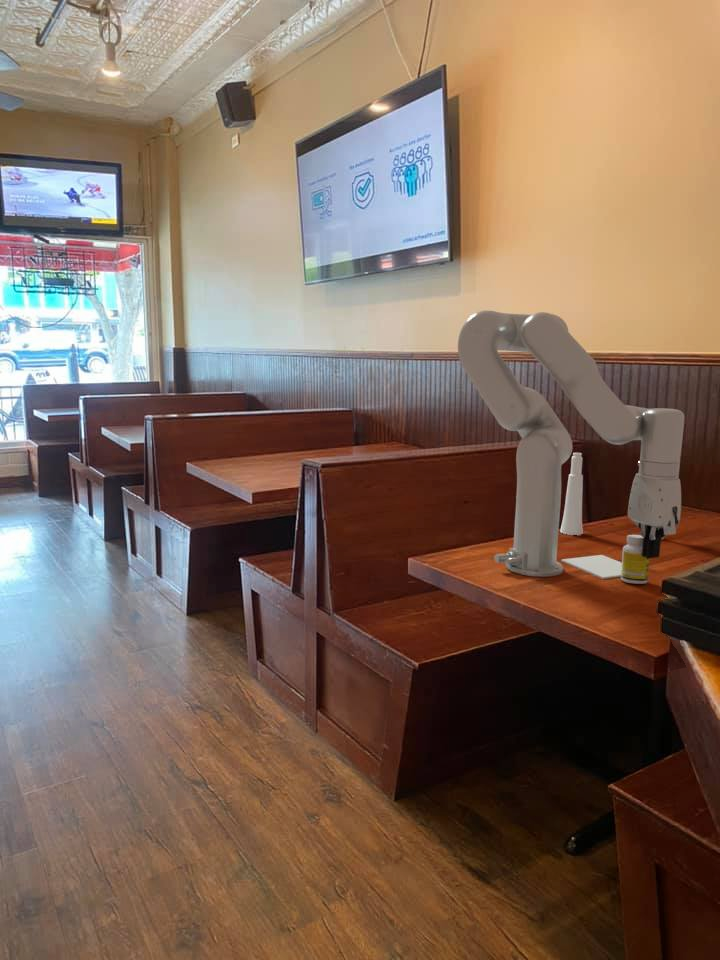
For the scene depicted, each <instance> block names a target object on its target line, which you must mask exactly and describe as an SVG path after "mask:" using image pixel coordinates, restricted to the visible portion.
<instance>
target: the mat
mask: <svg viewBox="0 0 720 960" xmlns="http://www.w3.org/2000/svg"><path fill="white" fill-rule="evenodd" d="M560 560H561V563H562V562H563V563H565V564H568V565H569V566H572V567H575V568H576V569H579V570H581V571H583V572H585V573H588V574H591V575H593V576H595V577H597V578H600V579H602V580H605V579H613V578H621V570H622V561H619V560H616V559H614V558H611V557H608V556H606V555H604V554H598V555H588V556H581V557H572V558H563V559H560Z"/></svg>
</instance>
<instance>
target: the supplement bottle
mask: <svg viewBox="0 0 720 960" xmlns="http://www.w3.org/2000/svg"><path fill="white" fill-rule="evenodd" d="M643 538H644V537H642V536H641V534H628V535H626V542H627V544H626V545H624V546H623V547H622V553H621V554H622V555H621V556H622V557H621V562H622V570H621V577H620V579H621V581H623V582H625V583H628V584H636V585H643V584H647V583H648V581H649V569H650V558H646V557H643V556H642V547H643Z"/></svg>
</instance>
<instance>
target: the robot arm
mask: <svg viewBox="0 0 720 960" xmlns="http://www.w3.org/2000/svg"><path fill="white" fill-rule="evenodd" d="M457 340H458V341H457V352H458V358H459V361H460V364H461V366H462V368H463V370H464V371H465V374H466V375H467V376H468V378H469V380H470V382H472V384H473V385H474V387H475V389H476V390H477V392H478V393H479V395H480V396H481V398H482V400H483V401H484V403H485V405H486V406H487V408H488V409H489V411H490V412H491V413H492V415H493V416H494V418H495V420H496V422H497V423H498V424H499V425H500V426H501V427H502V428H503V429H505V430H507V431H511V432H516V431H517V433H518V434H519V436H520V438H521V439H520V441H519V444H518V446H517V448H516V454H515V455H516V457H515V461H516V462H515V463H516V465H515V466H516V496H515V501H516V502H515V515H514V516H515V517H514V533H513V547H509V549H508V551H507V552H506V553H496V554H494V555H493V556H494V557H493V559H494V562H495V563H496V564H499V563H505V565H504V566H505V568H506V569H507V570H508V571H510V572H512V573H515V574H517V575H518V574H519V575H522V576H528V577H543V578H545V577H546V578H547V577H554V576H558V575H560V574H562V573H563V571H564V566H563V564H562V563H561V562H558V561H557V557H558V539H559V531H560V530H559V527H560V516H561V515H560V514H561V504H562V503H561V501H562V499H561V498H562V465H563V464H565V463H566V462H567V461H568V460H569V458H570V457H571V455H572V454H573V453H572V452H573V441H572V437H571V436H570V433H569V432H568V430H567V428H566V427H565V425H564V424H563V423H562V421H561V420H560V419H559V417H558V415H557V414H556V413H555V411H554V409H553V408H552V407H551V405H550V404H549V403H548V401H547V400H546V398H545V397H544V396H543V395H542V394H541V393H540V392H539V391H538V390H536V389H534V388H531V387H528V386H523V385H522V384H521V383H520V381H519V380H518V379H517V377H516V375H515V374H514V372H513V371H512V369H511V367H509V365H508V363H506V361H505V360H504V359H503V358H502V357H501V356H500V354H499V352H498V351H501V352H502V351H505V352H506V351H507V352H508V351H509V352H522V353H530V354H531V355H532V357H534V358H535V359H536V360H537V361H538V362H539V364H540V365H541V366H542V367H543V368H544V369H545V371H547V373H548V374H549V375H550V376H551V377H552V378H553V379H554V381H556V382H557V384H558V385H559V386H560V387H561V389H562V391H563V392H564V394H565V395H566V396H567V398H568V399H569V401H570V402H571V403H572V405H573V406H574V407H575V409H576V410H577V411H578V413H579V415H581V416H582V418H583V419H584V420H585V421H586V422H587V423H588V424H589V426H591V427H592V429H593V430H594V431H595V432H596V433H597V434H598V435H599V437H601V438H602V439H603V441H604V440H605V441H606V442H607V443H610V444H612V445H617V446H621V445H624V444H627V443H630V442H633V441H640V442H641V444H640V453H639V454H640V456H639V460H638V462H637V466H638V472H637V473H635V476H634V478H633V480H632V484H631V485H632V486H631V489H630V494H629V500H628V508H627V517H628V518H629V519H630V520H632V521H631V522H632V523H633V524H634V525H635V526H637V527H638V528H639V530H640V535H641V536H642V537H644V538H643V547H642V556H643V557H646V558H649V559H654V558H659V557H660V553H661V543H662V540H664V539H665V536H667V535H668V536H671V535H676V533H677V528H676V527H678V526H679V523H680V520H681V513H682V487H681V479H680V478H679V477H680V476H679V475H680V467H681V466H680V464H681V458H682V457H681V455H682V447H683V446H682V445H683V437H684V436H683V435H684V426H685V414H684V412H683V411H681V410H680V409H676V408H665V407H664V408H662V407H660V408H659V407H658V408H657V407H654V408H647V407H640V406H635V405H628V404H624V402H622V401H621V400H620V399H619V397H618V396H616V394H615V392H613V391H612V389H611V388H610V387H609V386H608V385H607V384H606V382H605V381H604V379H603V377H602V375H601V374H600V371H599V369H598V368H599V367H598V365H597V363H596V360H595V358H593V356H591V355H590V354H589V352H587V350H586V349H585V348H584V347H583V346H582V345H581V344H580V343H579V342H578V341H577V340H576V339H575V337H573V335H571V332H570V331H569V328H568V326H567V323H566V322H565V320H564V319H563V318H561V317H560V316H558V315H556V314H553V313H549V312H545V311H544V312H542V311H541V312H535V313H534V314H525V313H523V314H522V313H520V314H519V313H504V312H499V311H496V310H495V311H494V310H481V311H477V312H475V313H473V314H472V315H470V316H469V317H468V318H467V319H466V321H464V324H463V325H462V326H461V329H460V332H459V334H458V339H457ZM661 539H662V540H661Z"/></svg>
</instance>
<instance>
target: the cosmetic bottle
mask: <svg viewBox="0 0 720 960" xmlns="http://www.w3.org/2000/svg"><path fill="white" fill-rule="evenodd" d="M582 455H583V453H581V452H573V453H572V456H571V462H570V464H571V465H570V473H569V474H568V480H567V486H566V493H565V504H564V508H563V509H564V510H563V516H562V521H561V526H560V530H559V532H560V533H561V534H562V533H563V535H566V534H567V536H573V535H577V536H582V535H583V534H584V529H583V492H584V491H583V490H584V489H583V487H584V486H583V481H584V477H583V476H584V475H583V474H582V469H583V457H582ZM581 534H582V535H581Z"/></svg>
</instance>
